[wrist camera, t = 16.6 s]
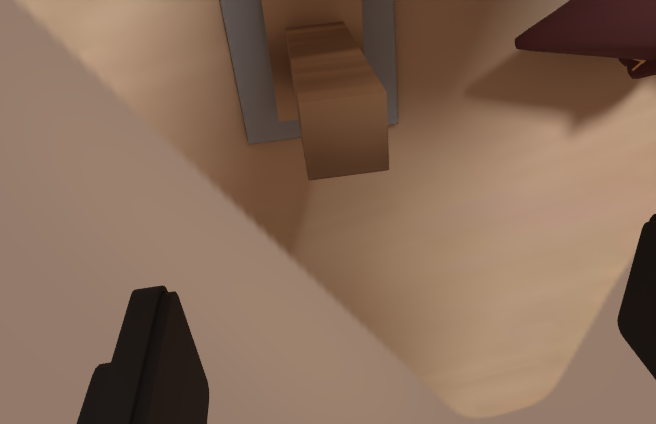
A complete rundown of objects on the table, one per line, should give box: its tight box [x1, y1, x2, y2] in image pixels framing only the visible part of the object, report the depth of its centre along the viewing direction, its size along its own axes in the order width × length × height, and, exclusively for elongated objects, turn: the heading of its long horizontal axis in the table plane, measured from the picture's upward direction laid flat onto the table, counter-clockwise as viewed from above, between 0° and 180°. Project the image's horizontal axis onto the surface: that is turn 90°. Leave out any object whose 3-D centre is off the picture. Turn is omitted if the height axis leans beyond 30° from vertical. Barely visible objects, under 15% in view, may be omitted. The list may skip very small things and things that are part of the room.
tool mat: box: [220, 0, 398, 145], centre depth 30 cm, size 10×9×1 cm
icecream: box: [515, 0, 656, 79], centre depth 27 cm, size 7×7×15 cm
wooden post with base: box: [261, 0, 389, 180], centre depth 24 cm, size 7×5×12 cm
